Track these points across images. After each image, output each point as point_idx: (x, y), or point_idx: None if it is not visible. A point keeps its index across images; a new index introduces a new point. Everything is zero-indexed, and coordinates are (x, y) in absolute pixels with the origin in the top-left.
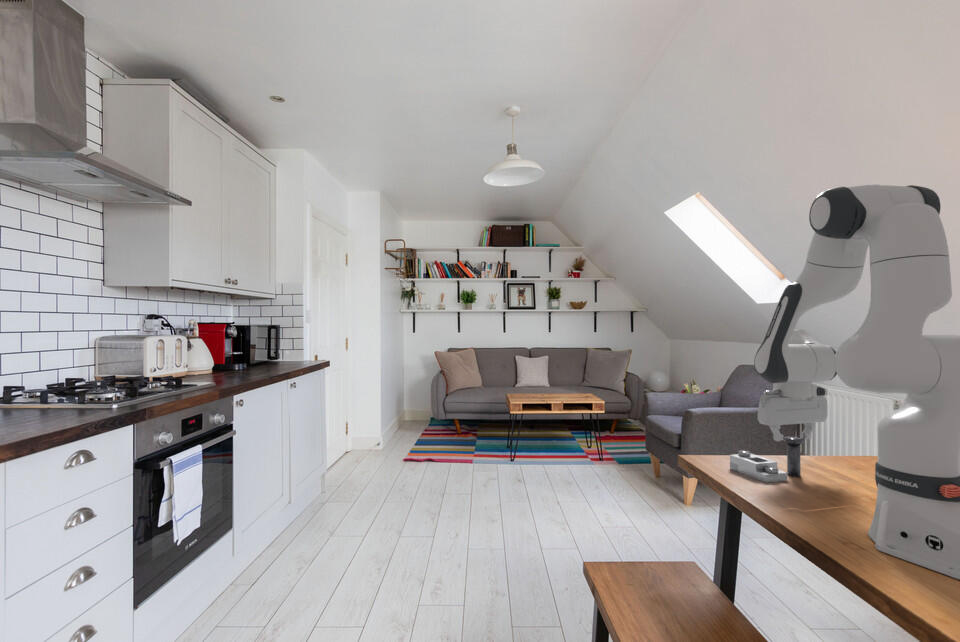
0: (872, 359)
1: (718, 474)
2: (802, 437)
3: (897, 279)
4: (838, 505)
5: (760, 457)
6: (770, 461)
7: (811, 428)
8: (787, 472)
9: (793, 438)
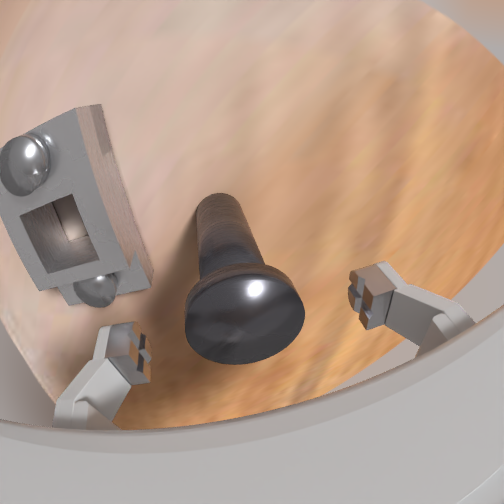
0: None
1: None
2: (351, 277)
3: None
4: (179, 388)
5: (85, 195)
6: (102, 262)
7: (412, 340)
8: (198, 210)
9: (246, 328)
